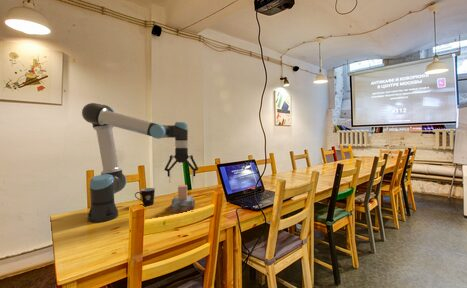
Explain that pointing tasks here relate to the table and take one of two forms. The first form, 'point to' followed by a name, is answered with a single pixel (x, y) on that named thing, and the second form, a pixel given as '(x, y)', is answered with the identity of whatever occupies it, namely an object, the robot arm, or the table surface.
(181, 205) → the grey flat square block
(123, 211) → the table surface
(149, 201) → the coffee mug
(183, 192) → the top brick
